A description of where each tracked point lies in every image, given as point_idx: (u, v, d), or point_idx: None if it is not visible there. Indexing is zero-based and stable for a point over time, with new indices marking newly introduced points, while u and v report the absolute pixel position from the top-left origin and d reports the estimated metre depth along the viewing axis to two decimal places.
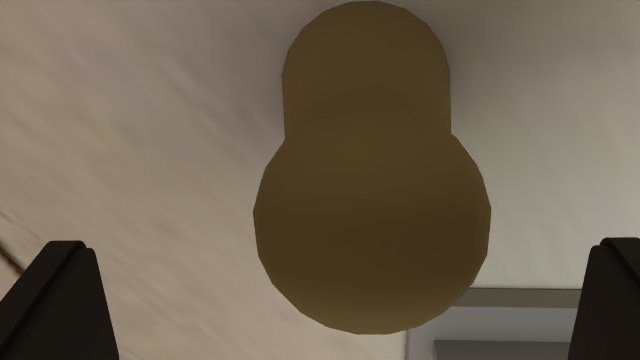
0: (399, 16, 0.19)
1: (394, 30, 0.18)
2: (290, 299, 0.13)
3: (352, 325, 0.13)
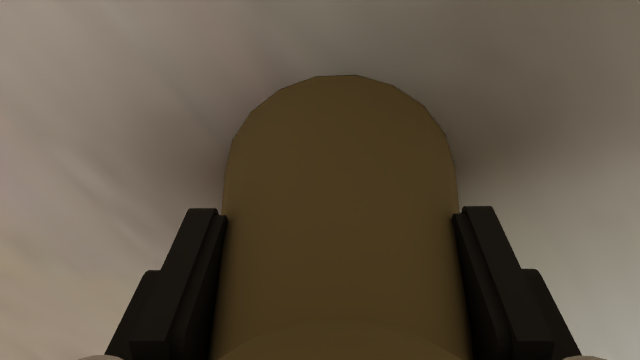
0: (385, 100, 0.14)
1: (378, 127, 0.12)
2: None
3: None
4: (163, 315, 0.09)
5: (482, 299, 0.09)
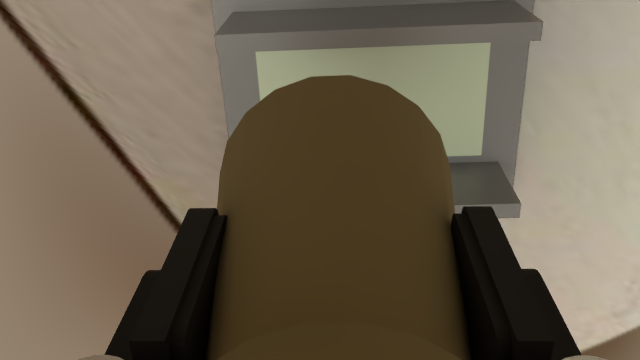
0: (380, 100, 0.14)
1: (374, 127, 0.12)
2: None
3: None
4: (163, 315, 0.09)
5: (482, 299, 0.09)
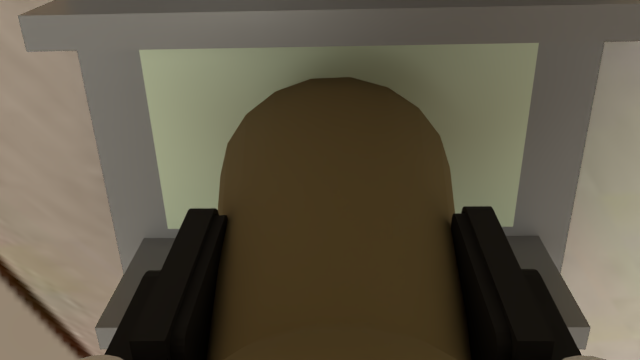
0: (381, 102, 0.14)
1: (374, 129, 0.12)
2: None
3: None
4: (163, 315, 0.09)
5: (482, 299, 0.09)
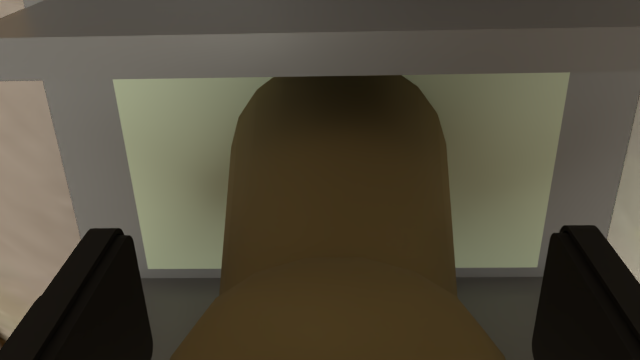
0: (382, 79, 0.15)
1: (376, 102, 0.14)
2: None
3: None
4: (27, 350, 0.08)
5: (612, 331, 0.08)
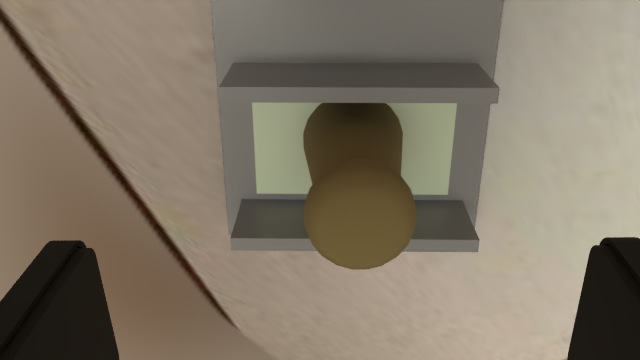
0: (374, 103, 0.34)
1: (371, 112, 0.33)
2: (321, 250, 0.27)
3: (350, 263, 0.27)
4: None
5: None
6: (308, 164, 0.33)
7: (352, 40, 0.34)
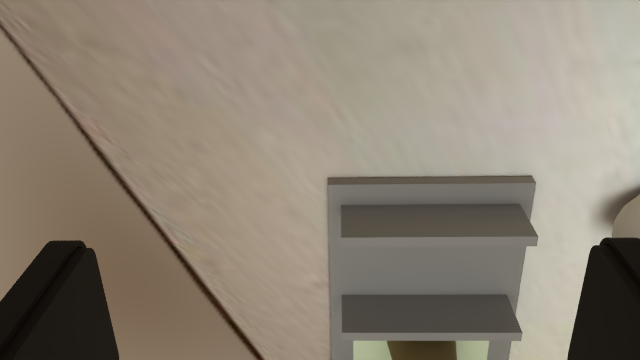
0: None
1: None
2: None
3: None
4: None
5: None
6: None
7: (422, 282, 0.50)
